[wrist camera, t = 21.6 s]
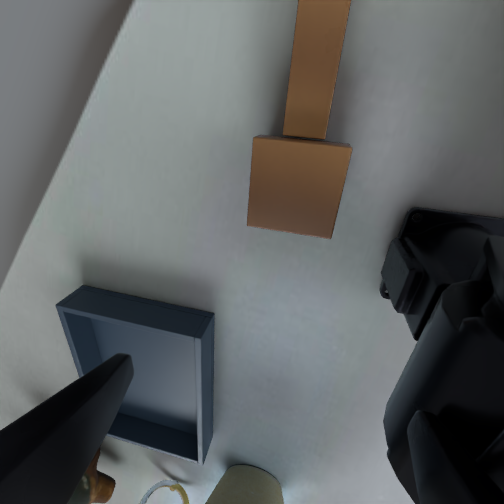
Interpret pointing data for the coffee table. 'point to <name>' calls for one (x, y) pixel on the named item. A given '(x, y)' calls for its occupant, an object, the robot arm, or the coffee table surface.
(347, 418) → the coffee table surface
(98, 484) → the decorative turtle
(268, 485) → the plant pot
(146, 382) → the tray
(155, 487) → the ring
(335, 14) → the brush
